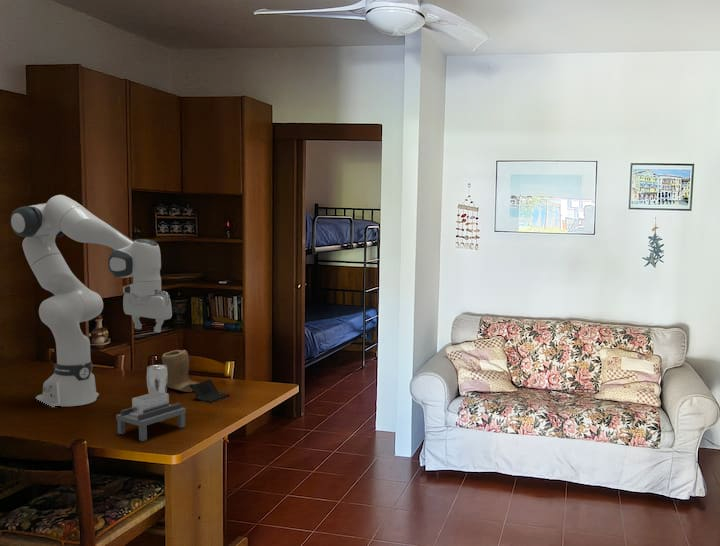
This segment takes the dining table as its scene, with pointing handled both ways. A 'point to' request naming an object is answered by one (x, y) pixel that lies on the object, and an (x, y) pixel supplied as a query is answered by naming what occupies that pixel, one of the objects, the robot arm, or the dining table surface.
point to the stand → (150, 418)
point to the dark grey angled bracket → (207, 392)
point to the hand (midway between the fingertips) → (147, 330)
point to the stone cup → (178, 370)
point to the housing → (149, 403)
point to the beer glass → (157, 378)
